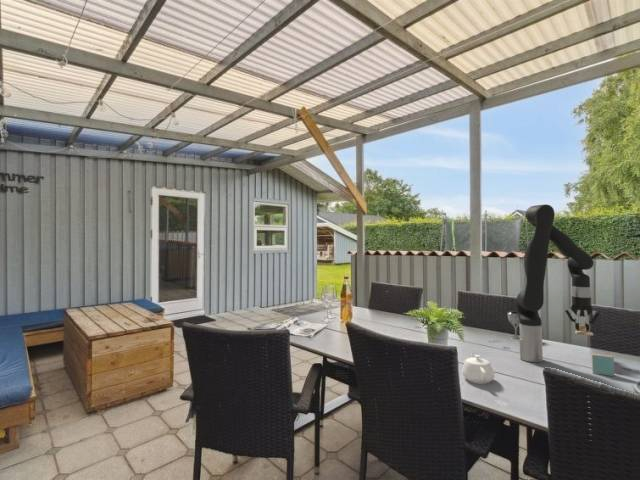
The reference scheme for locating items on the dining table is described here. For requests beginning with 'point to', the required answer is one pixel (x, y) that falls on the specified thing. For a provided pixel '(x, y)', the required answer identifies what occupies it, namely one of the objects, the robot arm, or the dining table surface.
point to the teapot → (478, 370)
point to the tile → (603, 364)
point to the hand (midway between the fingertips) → (582, 330)
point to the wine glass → (514, 322)
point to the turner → (583, 330)
